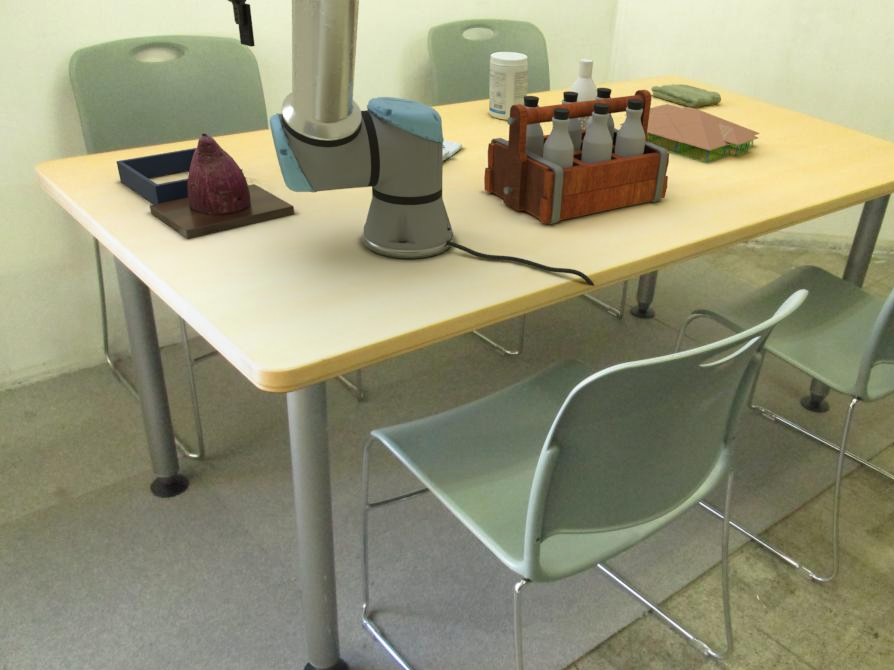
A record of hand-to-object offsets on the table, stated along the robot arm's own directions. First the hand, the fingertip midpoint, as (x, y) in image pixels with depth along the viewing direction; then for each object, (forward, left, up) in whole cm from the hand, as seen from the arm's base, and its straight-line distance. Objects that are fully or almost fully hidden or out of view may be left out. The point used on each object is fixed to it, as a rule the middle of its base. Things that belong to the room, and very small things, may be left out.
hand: (279, 40), depth 150 cm
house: (-23, -95, -27) cm, 101 cm away
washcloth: (+3, -129, -27) cm, 132 cm away
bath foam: (-14, -66, -27) cm, 73 cm away
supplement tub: (+17, -72, -27) cm, 79 cm away
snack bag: (+5, -32, -27) cm, 42 cm away
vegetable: (-4, +17, -25) cm, 31 cm away
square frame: (+12, +16, -27) cm, 34 cm away
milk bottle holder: (-35, -43, -27) cm, 62 cm away
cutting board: (-5, +17, -27) cm, 32 cm away
